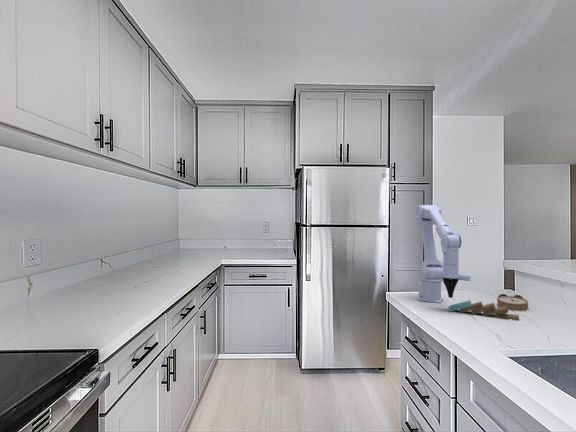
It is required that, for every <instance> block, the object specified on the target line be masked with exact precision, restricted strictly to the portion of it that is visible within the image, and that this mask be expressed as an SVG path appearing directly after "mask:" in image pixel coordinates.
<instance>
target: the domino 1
mask: <svg viewBox="0 0 576 432" xmlns="http://www.w3.org/2000/svg"><path fill="white" fill-rule="evenodd" d="M483 305H484V304H483V302H482V301H478V302H474V303H471V306H469V307H466V308H462V309H458V310H459V311H460V313H462V314H463V313H466V312H469V311H470V312H471V310H475V309H479V308H482V306H483Z"/></svg>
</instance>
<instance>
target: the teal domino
mask: <svg viewBox="0 0 576 432" xmlns="http://www.w3.org/2000/svg"><path fill="white" fill-rule="evenodd" d="M471 304H472V302H471V300H469V299H468V300H466V301H461V302H458V303H453V304H451V305H449V307H448V310H449V312H453V311H458V310H459V309H462V308H466V307H469V306H471Z"/></svg>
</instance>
